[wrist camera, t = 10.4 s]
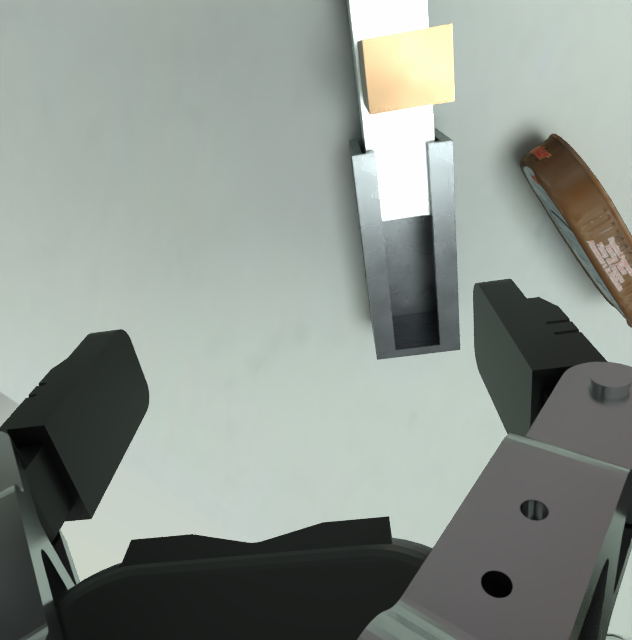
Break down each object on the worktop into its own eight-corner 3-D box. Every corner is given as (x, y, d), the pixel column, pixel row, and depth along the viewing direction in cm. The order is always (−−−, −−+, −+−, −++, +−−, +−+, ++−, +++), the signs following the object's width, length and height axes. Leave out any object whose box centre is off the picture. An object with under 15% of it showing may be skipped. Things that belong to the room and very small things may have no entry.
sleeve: (371, 321, 43) (377, 359, 38) (349, 141, 37) (352, 156, 31) (444, 312, 43) (460, 349, 37) (434, 127, 36) (452, 140, 31)
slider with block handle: (369, 205, 38) (383, 259, 28) (335, -101, 30) (337, -176, 20) (427, 197, 37) (461, 248, 28) (408, -116, 29) (447, -201, 20)
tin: (631, 278, 41) (698, 329, 34) (593, 301, 42) (650, 355, 34) (538, 122, 36) (592, 141, 28) (498, 152, 37) (540, 177, 29)
